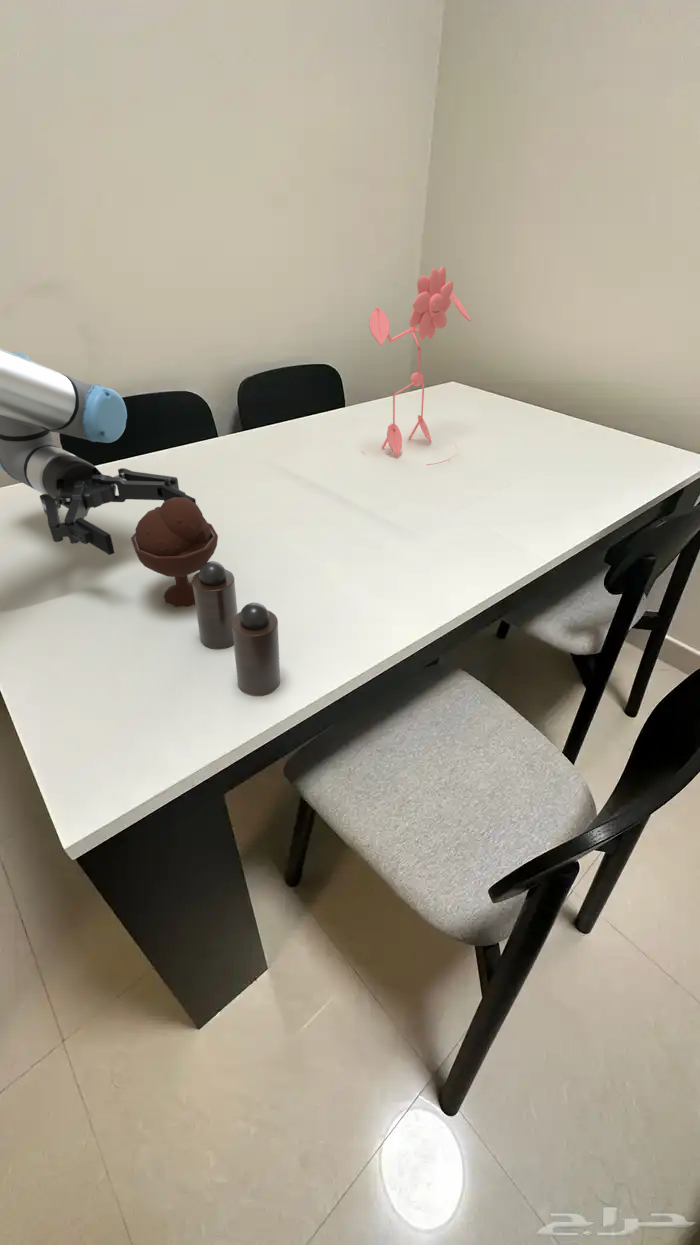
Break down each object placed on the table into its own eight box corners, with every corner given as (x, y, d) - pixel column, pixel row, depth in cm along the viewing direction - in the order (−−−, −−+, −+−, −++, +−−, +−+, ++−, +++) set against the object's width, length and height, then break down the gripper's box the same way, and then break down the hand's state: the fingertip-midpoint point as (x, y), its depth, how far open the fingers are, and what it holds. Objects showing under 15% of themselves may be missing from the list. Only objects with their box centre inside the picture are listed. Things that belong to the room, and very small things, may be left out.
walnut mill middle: (211, 654, 73) (201, 579, 66) (193, 633, 76) (182, 560, 69) (246, 640, 75) (240, 566, 68) (228, 620, 78) (220, 548, 71)
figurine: (352, 456, 125) (361, 266, 103) (428, 430, 139) (450, 259, 118) (405, 479, 116) (428, 278, 95) (481, 449, 131) (515, 269, 109)
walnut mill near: (250, 702, 66) (244, 625, 60) (230, 677, 69) (221, 601, 63) (288, 684, 69) (285, 609, 62) (266, 661, 72) (262, 587, 65)
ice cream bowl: (211, 568, 88) (199, 474, 79) (231, 609, 80) (221, 510, 71) (138, 582, 84) (117, 486, 75) (152, 626, 76) (131, 525, 67)
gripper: (140, 477, 98) (226, 518, 88) (-9, 530, 82) (76, 588, 72) (132, 433, 93) (222, 471, 84) (-28, 481, 78) (60, 535, 68)
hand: (154, 525), depth 78 cm, fingers open, 13 cm apart
